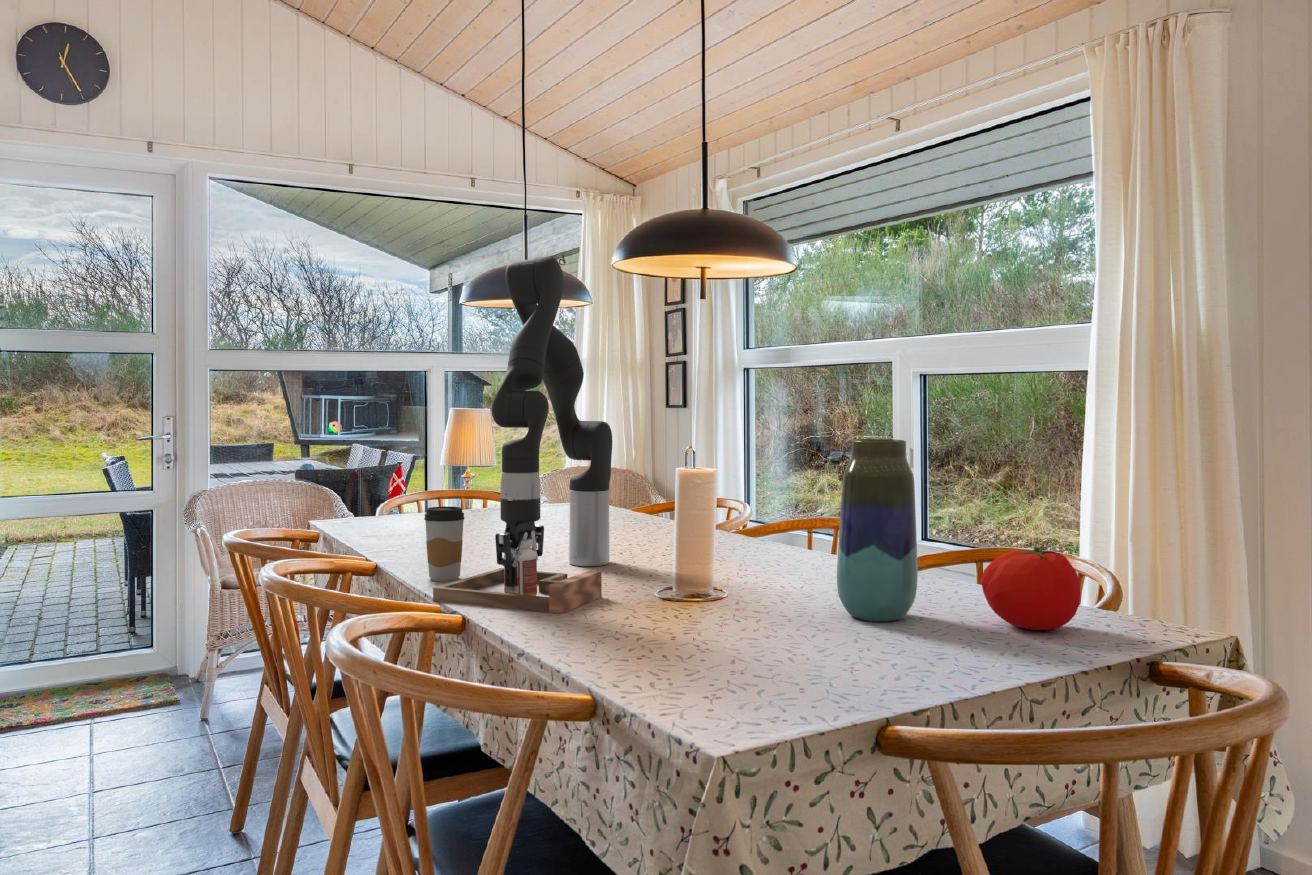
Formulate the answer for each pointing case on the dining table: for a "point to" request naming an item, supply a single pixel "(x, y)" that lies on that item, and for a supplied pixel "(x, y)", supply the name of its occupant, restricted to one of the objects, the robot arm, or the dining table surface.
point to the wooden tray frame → (557, 585)
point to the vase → (877, 532)
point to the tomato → (1032, 588)
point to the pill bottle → (525, 572)
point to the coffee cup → (444, 542)
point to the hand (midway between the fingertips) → (520, 583)
